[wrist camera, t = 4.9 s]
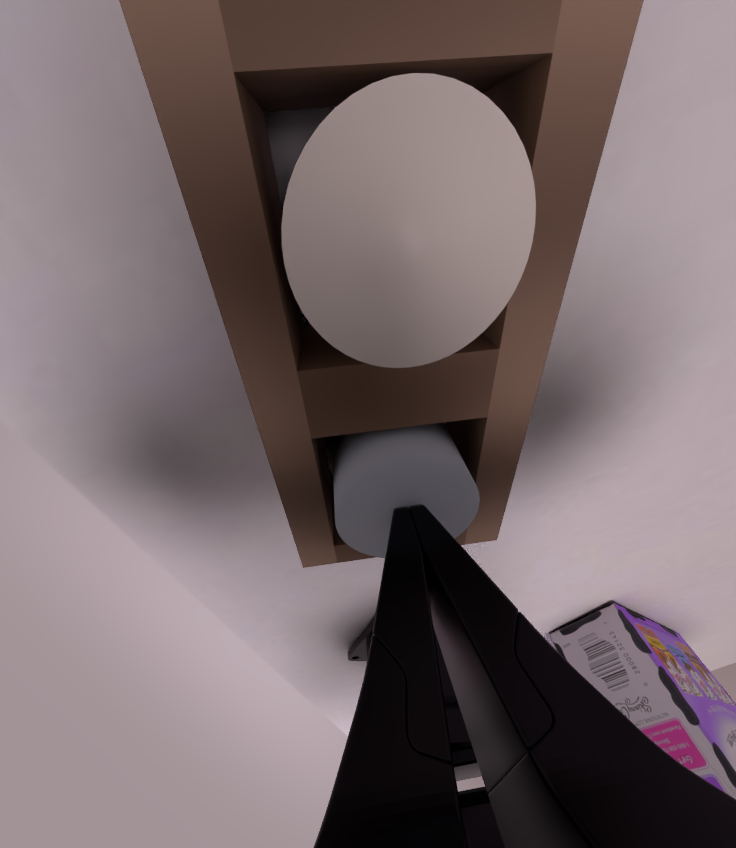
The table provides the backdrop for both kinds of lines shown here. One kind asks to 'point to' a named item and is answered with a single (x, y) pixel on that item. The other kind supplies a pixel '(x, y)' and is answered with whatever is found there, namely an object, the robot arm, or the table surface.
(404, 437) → the button grey
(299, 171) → the button cream
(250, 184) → the button panel
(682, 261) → the table surface
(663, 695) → the candy box
